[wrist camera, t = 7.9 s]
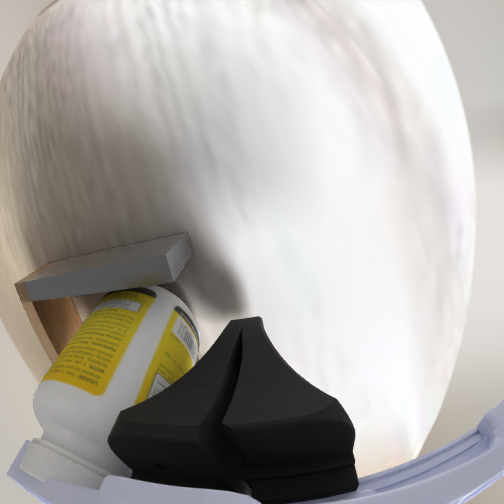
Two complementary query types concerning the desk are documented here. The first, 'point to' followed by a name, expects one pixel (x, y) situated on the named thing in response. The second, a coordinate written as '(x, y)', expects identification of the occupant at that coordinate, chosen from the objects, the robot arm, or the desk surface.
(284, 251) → the desk surface
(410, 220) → the desk surface
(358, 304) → the desk surface
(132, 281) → the bracket
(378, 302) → the desk surface
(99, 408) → the supplement bottle
